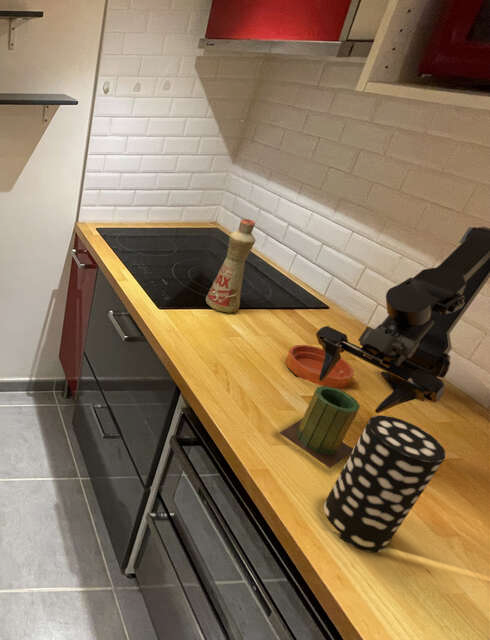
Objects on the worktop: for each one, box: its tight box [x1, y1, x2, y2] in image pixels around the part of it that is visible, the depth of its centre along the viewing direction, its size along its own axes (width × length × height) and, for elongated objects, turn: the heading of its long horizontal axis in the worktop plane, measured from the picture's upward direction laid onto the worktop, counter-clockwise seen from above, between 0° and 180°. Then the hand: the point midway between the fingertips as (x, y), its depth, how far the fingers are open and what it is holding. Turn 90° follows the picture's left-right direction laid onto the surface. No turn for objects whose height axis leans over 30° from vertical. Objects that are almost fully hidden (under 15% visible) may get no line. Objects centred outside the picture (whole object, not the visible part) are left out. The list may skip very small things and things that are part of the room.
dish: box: [285, 344, 355, 389], centre depth 106 cm, size 12×12×4 cm
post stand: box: [279, 418, 354, 469], centre depth 86 cm, size 9×9×6 cm
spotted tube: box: [323, 415, 447, 553], centre depth 69 cm, size 8×8×20 cm
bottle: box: [205, 218, 256, 314], centre depth 127 cm, size 9×9×28 cm
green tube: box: [296, 385, 361, 455], centre depth 85 cm, size 6×6×11 cm
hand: (347, 395), depth 85 cm, fingers open, 9 cm apart
